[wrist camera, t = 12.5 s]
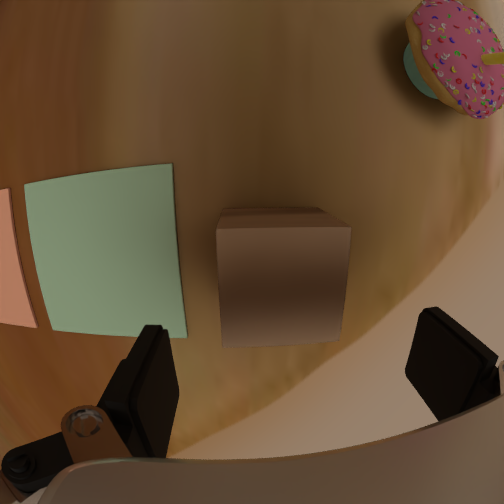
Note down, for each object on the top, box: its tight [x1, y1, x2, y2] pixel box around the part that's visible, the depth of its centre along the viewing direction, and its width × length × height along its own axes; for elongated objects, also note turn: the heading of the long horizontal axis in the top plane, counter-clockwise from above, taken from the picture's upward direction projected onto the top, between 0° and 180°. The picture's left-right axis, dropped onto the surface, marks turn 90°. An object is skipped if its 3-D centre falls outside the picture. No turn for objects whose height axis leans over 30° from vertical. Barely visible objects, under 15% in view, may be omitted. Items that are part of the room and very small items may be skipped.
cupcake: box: [403, 0, 504, 119], centre depth 10 cm, size 9×8×12 cm
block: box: [216, 208, 351, 348], centre depth 16 cm, size 6×6×6 cm
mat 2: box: [24, 164, 188, 338], centre depth 19 cm, size 12×12×1 cm
